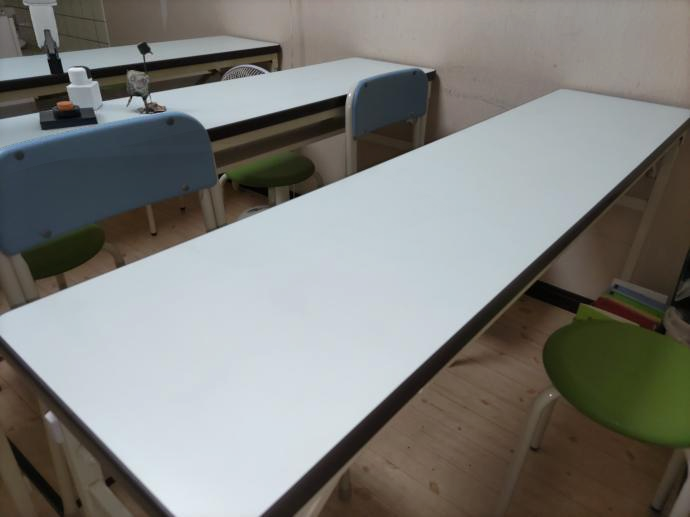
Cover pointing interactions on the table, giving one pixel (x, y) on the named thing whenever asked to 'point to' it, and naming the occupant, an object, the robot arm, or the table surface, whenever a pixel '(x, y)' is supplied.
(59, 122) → the button housing
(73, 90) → the medicine bottle
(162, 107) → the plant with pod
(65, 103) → the release button
